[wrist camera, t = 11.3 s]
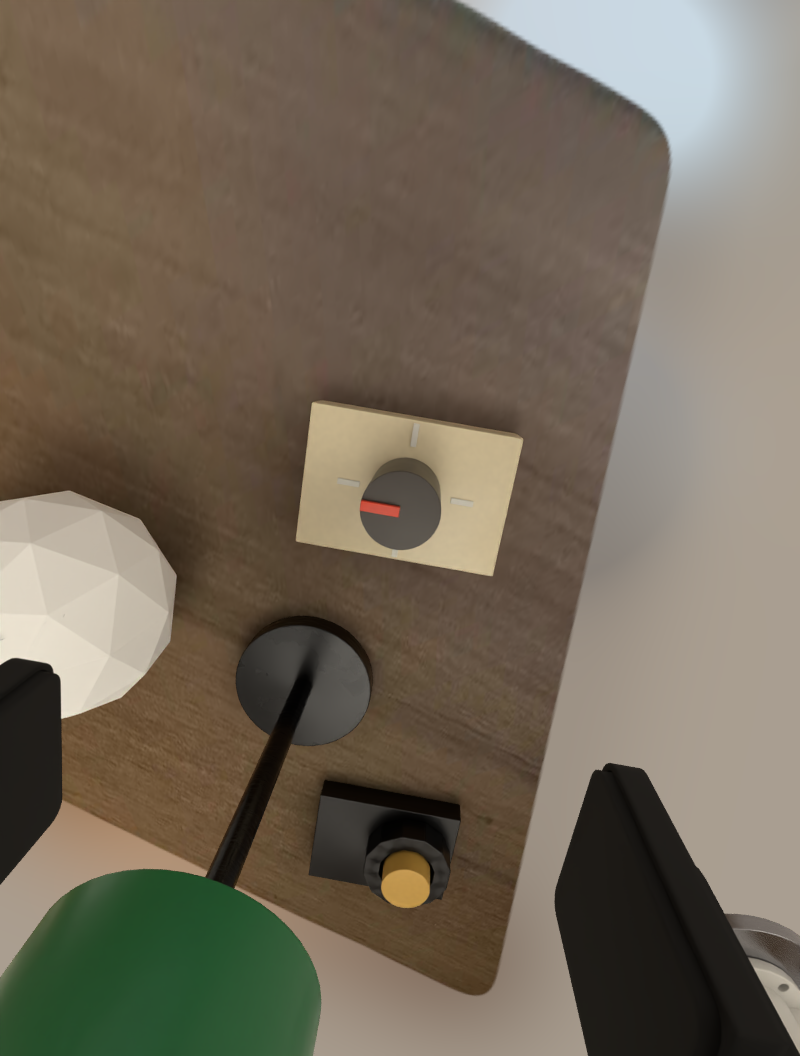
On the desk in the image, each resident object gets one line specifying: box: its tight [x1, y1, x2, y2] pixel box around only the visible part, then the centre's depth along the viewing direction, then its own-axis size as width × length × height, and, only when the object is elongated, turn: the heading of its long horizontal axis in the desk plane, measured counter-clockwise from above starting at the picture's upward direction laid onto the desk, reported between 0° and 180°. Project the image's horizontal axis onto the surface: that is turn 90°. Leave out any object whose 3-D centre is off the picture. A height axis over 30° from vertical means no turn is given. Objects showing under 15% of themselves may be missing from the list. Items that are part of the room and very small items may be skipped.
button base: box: [309, 780, 461, 905], centre depth 44 cm, size 11×8×4 cm
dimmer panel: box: [296, 400, 523, 576], centre depth 36 cm, size 13×9×3 cm
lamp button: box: [381, 850, 430, 908], centre depth 41 cm, size 4×4×2 cm
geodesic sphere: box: [0, 491, 177, 719], centre depth 34 cm, size 15×14×14 cm
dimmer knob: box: [360, 457, 441, 550], centre depth 32 cm, size 4×4×5 cm
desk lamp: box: [0, 616, 373, 1056], centre depth 28 cm, size 11×11×28 cm
